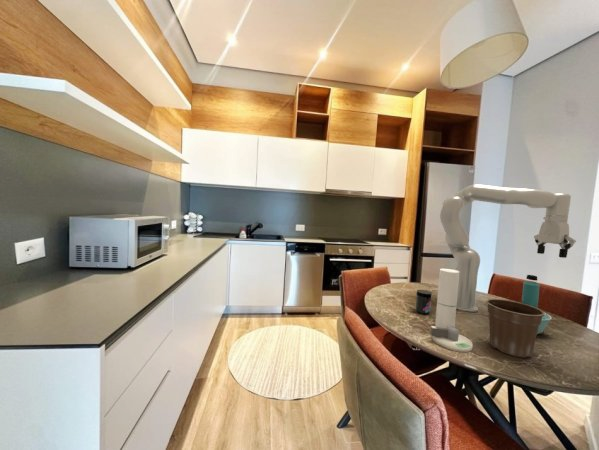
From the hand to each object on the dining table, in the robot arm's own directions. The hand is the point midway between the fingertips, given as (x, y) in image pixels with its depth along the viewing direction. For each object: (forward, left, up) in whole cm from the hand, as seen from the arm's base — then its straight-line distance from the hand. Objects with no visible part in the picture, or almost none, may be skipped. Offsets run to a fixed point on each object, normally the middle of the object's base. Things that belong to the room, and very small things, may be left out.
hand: (551, 255), depth 120 cm
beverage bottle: (-6, +5, -32) cm, 33 cm away
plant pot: (-7, -50, -32) cm, 59 cm away
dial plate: (-22, -63, -32) cm, 74 cm away
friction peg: (-24, -65, -30) cm, 75 cm away
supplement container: (-41, -41, -32) cm, 66 cm away
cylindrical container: (-28, -51, -32) cm, 67 cm away
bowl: (-5, -23, -32) cm, 40 cm away
